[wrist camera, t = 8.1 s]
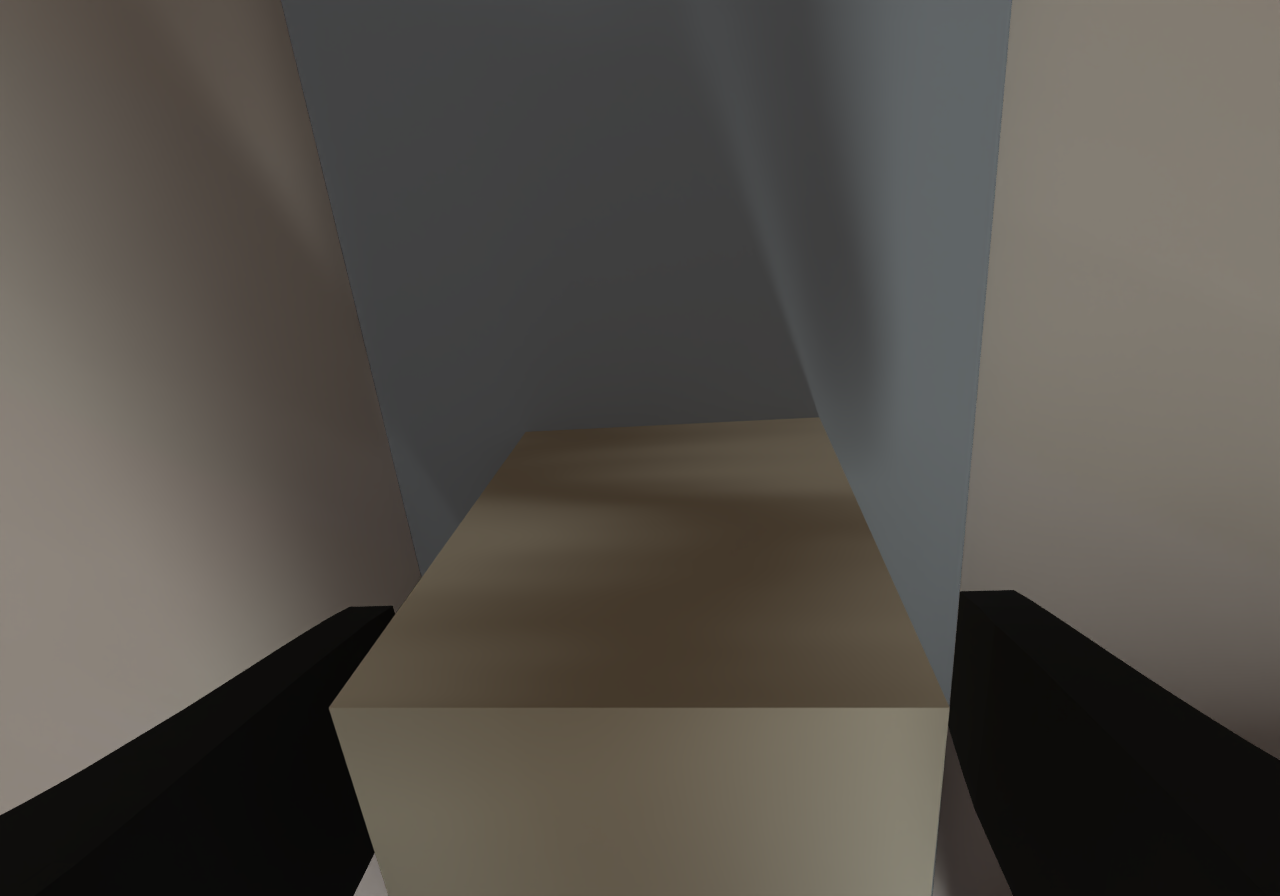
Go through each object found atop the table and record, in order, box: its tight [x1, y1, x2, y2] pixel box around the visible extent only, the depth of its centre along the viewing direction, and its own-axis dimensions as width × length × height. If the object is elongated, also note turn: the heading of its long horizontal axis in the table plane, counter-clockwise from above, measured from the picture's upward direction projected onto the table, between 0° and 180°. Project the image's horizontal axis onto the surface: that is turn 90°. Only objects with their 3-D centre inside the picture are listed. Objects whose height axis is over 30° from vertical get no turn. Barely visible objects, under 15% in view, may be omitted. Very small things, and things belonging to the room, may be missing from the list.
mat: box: [281, 0, 1012, 896], centre depth 12 cm, size 9×19×1 cm, turn 6°
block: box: [329, 417, 950, 896], centre depth 9 cm, size 4×4×6 cm
